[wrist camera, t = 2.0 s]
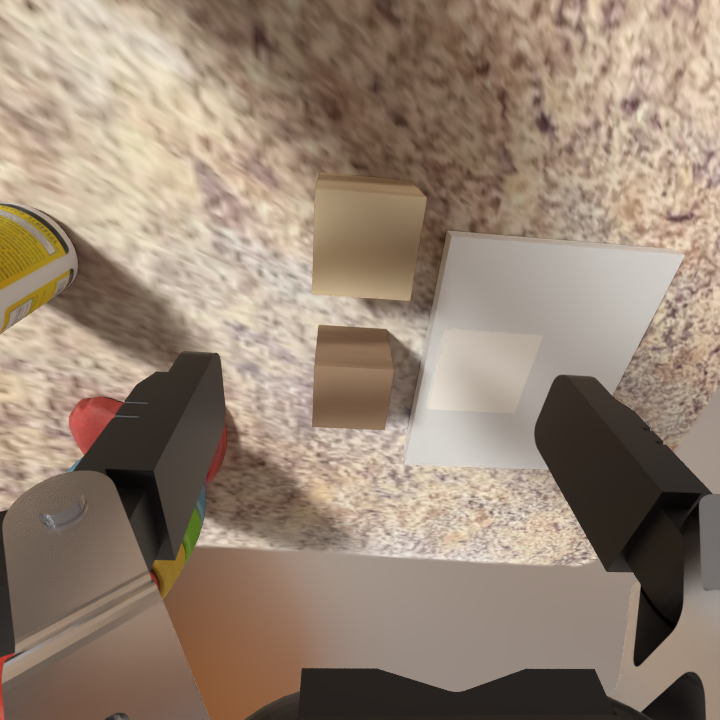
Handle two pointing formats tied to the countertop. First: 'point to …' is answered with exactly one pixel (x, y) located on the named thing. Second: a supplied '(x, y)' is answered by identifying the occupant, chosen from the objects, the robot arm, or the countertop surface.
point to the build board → (523, 339)
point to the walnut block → (352, 378)
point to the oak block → (366, 236)
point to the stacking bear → (87, 428)
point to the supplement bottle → (31, 261)
